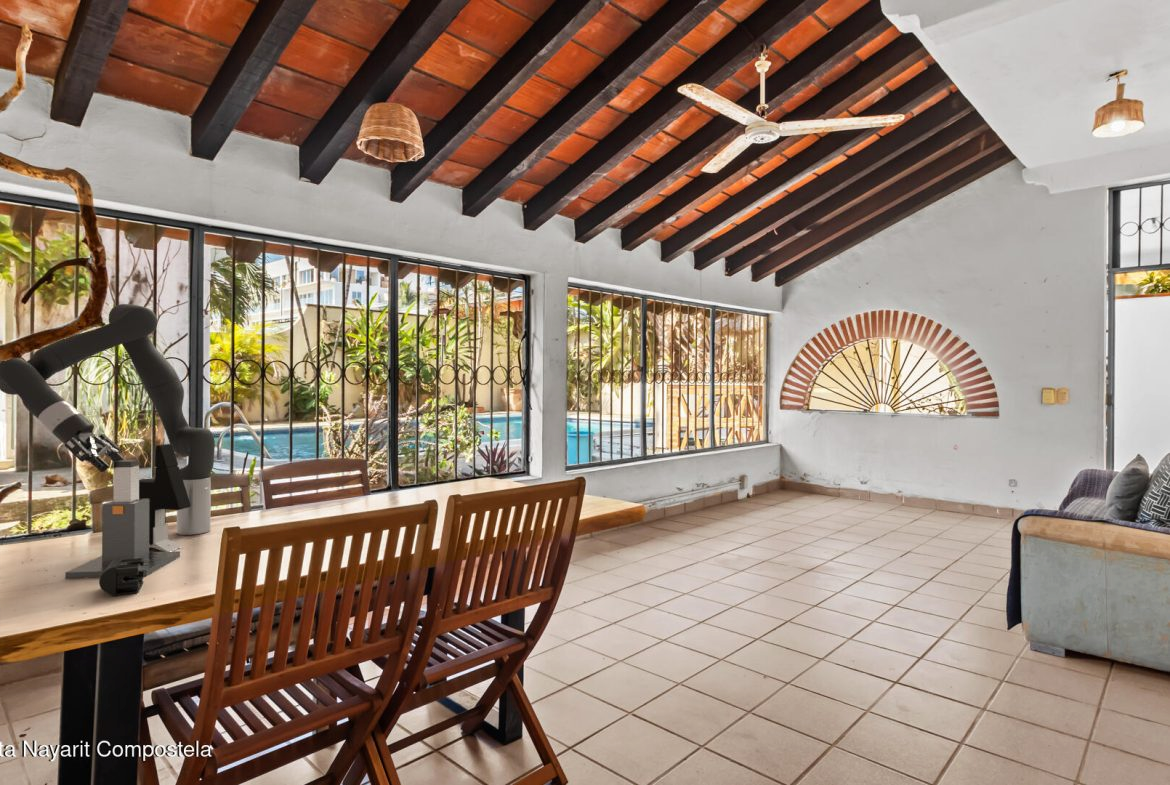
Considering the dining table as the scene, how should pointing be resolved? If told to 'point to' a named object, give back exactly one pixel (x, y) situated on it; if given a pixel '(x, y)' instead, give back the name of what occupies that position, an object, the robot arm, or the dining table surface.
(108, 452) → the robot arm
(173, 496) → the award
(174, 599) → the dining table surface
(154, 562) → the stand
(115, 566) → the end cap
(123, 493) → the column
